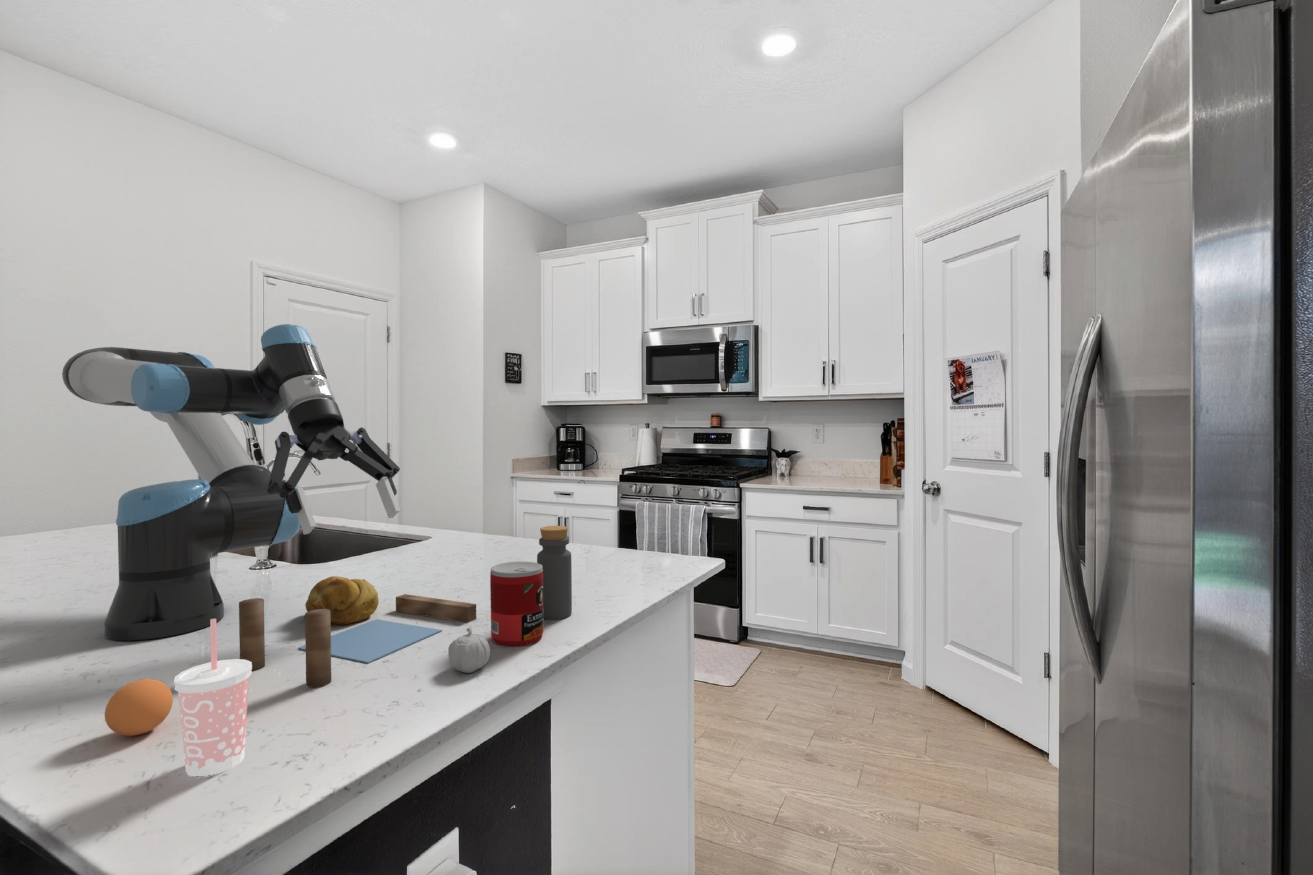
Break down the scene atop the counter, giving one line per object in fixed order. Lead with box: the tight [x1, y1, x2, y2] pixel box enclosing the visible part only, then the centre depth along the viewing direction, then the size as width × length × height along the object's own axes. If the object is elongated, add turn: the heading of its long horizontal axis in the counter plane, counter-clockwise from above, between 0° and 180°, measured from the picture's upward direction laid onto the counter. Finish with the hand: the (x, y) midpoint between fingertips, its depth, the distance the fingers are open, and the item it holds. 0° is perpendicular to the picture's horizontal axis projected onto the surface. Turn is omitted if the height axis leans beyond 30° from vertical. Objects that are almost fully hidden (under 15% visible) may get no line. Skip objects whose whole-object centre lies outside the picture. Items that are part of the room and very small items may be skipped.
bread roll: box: [304, 575, 379, 626], centre depth 102 cm, size 13×10×8 cm
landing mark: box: [298, 618, 443, 664], centre depth 92 cm, size 14×14×1 cm
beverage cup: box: [173, 619, 253, 777], centre depth 58 cm, size 6×6×14 cm
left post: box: [238, 597, 266, 672], centre depth 81 cm, size 3×3×9 cm
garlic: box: [447, 627, 491, 674], centre depth 80 cm, size 6×5×5 cm
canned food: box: [489, 561, 544, 648], centre depth 92 cm, size 8×8×11 cm
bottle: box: [536, 525, 573, 621], centre depth 103 cm, size 6×6×15 cm
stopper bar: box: [395, 593, 477, 623], centre depth 103 cm, size 16×2×2 cm, turn 67°
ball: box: [104, 678, 174, 737], centre depth 64 cm, size 6×6×6 cm
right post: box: [304, 609, 332, 689], centre depth 76 cm, size 3×3×9 cm
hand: (354, 522), depth 95 cm, fingers open, 13 cm apart
